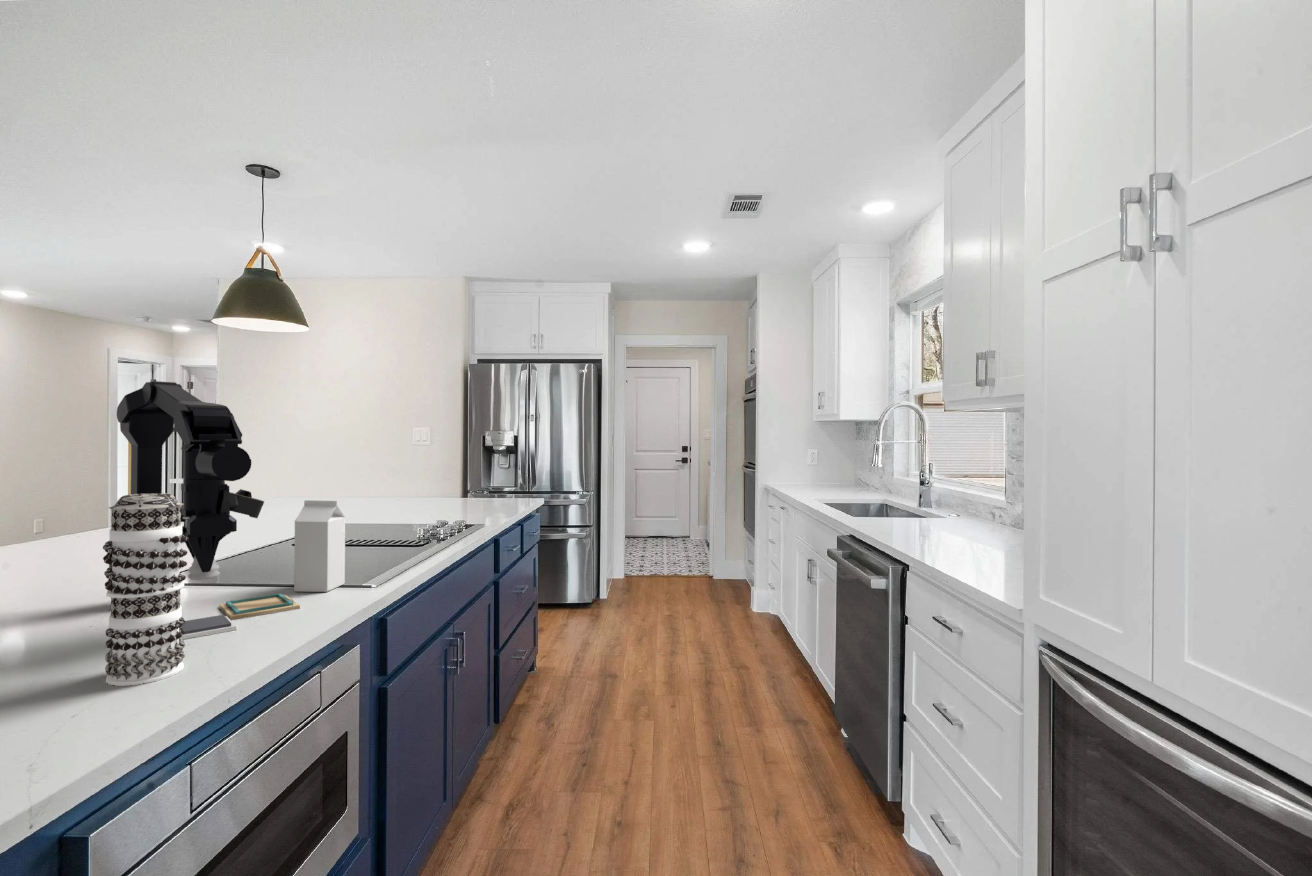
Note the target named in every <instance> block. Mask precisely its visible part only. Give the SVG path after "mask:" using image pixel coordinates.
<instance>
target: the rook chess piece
mask: <svg viewBox="0 0 1312 876" xmlns="http://www.w3.org/2000/svg"><path fill="white" fill-rule="evenodd" d="M219 569H220V565H218V563H217V561H216V560H215V558H214V560H213V564H212V567H211V571H210V572H202V571H201V568H200V566H199V564H198V562H197V560H196V558H195V557H194V559H193V561H192V563H191V566H190V567H189V568H188V572H189V573H190V574H188V575H187V578H189V579H190V580H191V581H204V580H210V579H215V578H217V577H219V575H220V574H221V572H219Z"/></svg>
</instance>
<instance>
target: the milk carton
mask: <svg viewBox="0 0 1312 876" xmlns="http://www.w3.org/2000/svg"><path fill="white" fill-rule="evenodd" d="M293 563H294V567H293V568H294V569H293V570H294V572H293V573H294V574H293V575H294V576H293V577H294V578H293V579H294V580H293V581H294V583H293V584H294V586H293V587H294V589H293V590H294V592H307V593H308V592H311V593H312V592H315V593H328V592H330V591H332V590H334V589H336V588H339V587H341V586H342V585H344V584H345V582H346V581H345V580H346V579H345V578H346V572H345V571H346V568H345V567H346V516H345V515H344V513H343V511H342V510H341V509H340V507H339V506H338V500H304V505H303V507H302V508H301V510H300V512H299V513H298V515H297V517H296V518H295V520H294V562H293Z"/></svg>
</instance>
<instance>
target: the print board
mask: <svg viewBox="0 0 1312 876" xmlns="http://www.w3.org/2000/svg"><path fill="white" fill-rule="evenodd" d="M218 605H219V609H220V610H221V609H222V610H223V611H224V612H225V613H224V612H223V611H222V610H221V611H222V612H223V613H224V615H226V616H227V617H228V618H229V619H230V620H231V621H234V620H239V619H240V620H241V619H246V618H251V617H256V615H258V616H262V615H269V614H273V613H281V612H286V611H292V610H298V609H301V605H300V604H299V603H297V602H296V601H295V600H293V599H292V598H290V597H289V596H288V595H287V594H285V593H283V594H282V593H281V592H280V593H274V594H268V595H267V594H266V595H260V596H255V597H249V598H247V597H246V598H240V599H235V600H228V601H225V602H224V603H219V604H218ZM245 617H246V618H245Z"/></svg>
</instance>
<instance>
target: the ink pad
mask: <svg viewBox="0 0 1312 876" xmlns="http://www.w3.org/2000/svg"><path fill="white" fill-rule="evenodd" d="M180 628H182V629H183V630H184V631H185V634H184V635H182V637H181V638H180V639H182V640H183V641H184V640H188V639H192V638H193V637H194V638H199V637H203V636H204V635H205V636H209V635H215V633H216V634H221V633H226V632H232V631H237V625H236V624H235V623H234V622H233V620H231V619H230V618H229V617H228V616H227V615H226V616H225V614H220V615H212V616H207V617H201V618H195V619H188V620H185V623H184V624H183V625H182V626H181V627H180Z"/></svg>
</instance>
